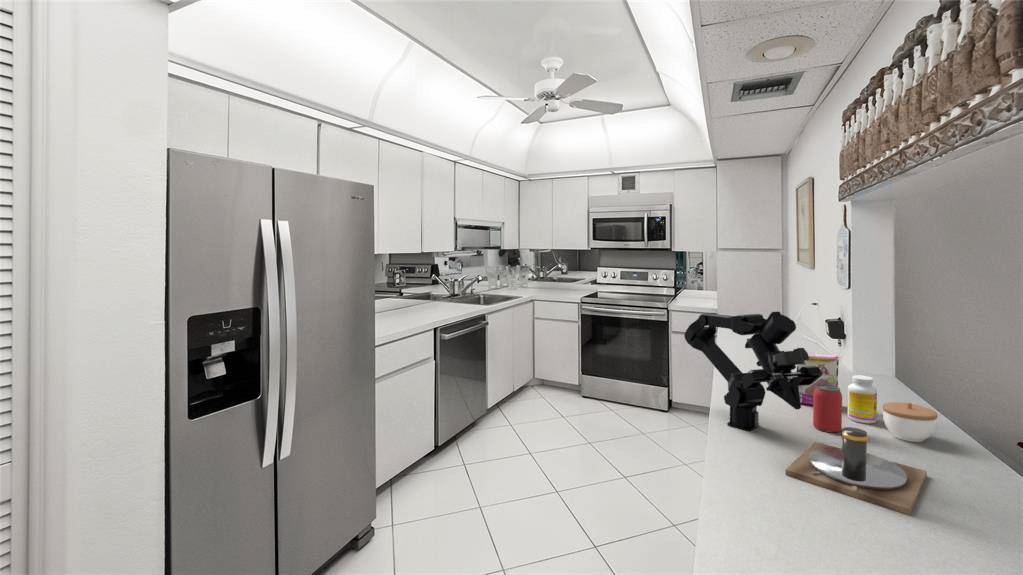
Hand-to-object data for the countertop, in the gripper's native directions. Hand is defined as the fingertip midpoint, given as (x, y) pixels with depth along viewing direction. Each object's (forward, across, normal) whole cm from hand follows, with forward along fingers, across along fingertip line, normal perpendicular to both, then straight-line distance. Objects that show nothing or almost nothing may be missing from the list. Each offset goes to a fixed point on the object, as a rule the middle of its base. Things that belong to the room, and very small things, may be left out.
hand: (798, 408), depth 104 cm
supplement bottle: (-4, +35, +22) cm, 41 cm away
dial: (+15, +6, +1) cm, 16 cm away
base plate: (+16, +6, +2) cm, 17 cm away
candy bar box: (-14, +33, +32) cm, 47 cm away
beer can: (-1, +21, +19) cm, 28 cm away
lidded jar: (+5, +36, +13) cm, 39 cm away
